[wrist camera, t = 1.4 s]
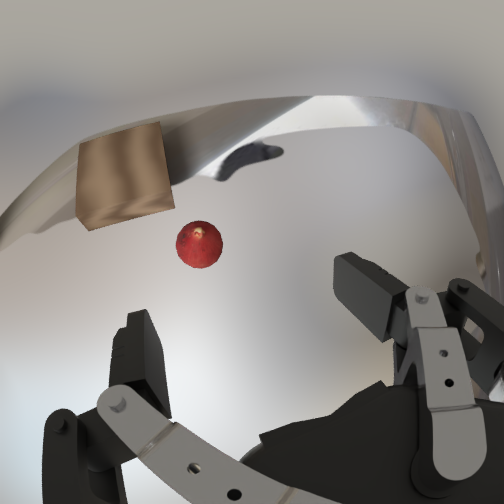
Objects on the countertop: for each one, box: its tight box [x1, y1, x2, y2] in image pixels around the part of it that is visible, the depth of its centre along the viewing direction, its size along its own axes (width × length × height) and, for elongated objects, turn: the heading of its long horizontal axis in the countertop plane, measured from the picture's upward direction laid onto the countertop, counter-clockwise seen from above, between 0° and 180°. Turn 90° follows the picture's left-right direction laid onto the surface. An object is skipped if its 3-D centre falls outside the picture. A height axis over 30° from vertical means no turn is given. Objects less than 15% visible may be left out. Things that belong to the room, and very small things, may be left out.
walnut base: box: [76, 122, 175, 231], centre depth 37 cm, size 14×14×5 cm
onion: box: [176, 221, 223, 268], centre depth 34 cm, size 6×6×8 cm
